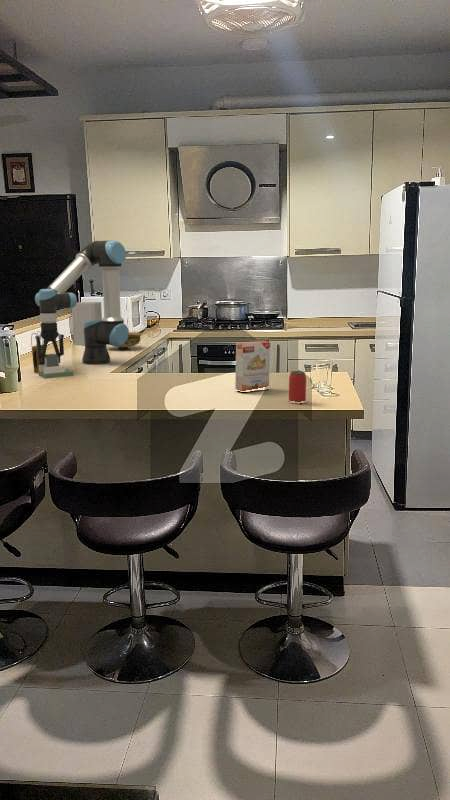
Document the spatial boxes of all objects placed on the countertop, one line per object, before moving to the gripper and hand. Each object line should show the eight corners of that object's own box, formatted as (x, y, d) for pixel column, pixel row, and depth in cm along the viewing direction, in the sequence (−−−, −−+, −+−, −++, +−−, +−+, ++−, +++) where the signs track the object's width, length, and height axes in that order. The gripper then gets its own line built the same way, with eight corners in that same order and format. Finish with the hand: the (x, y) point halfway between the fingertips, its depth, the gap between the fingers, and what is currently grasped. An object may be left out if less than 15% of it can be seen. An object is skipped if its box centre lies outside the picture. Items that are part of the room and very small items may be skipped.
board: (66, 372, 307) (66, 362, 306) (73, 375, 300) (72, 365, 298) (39, 375, 299) (38, 365, 298) (44, 378, 292) (44, 367, 291)
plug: (54, 369, 301) (54, 353, 299) (58, 371, 297) (57, 354, 295) (44, 370, 298) (43, 354, 297) (48, 372, 294) (47, 355, 293)
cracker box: (242, 393, 256) (242, 343, 252) (234, 391, 261) (235, 342, 257) (270, 390, 264) (270, 341, 259) (261, 388, 269) (262, 340, 264)
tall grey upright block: (80, 347, 401) (78, 303, 395) (73, 344, 414) (71, 302, 408) (108, 345, 411) (106, 302, 405) (100, 342, 423) (99, 301, 417)
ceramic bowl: (151, 350, 387) (151, 334, 384) (117, 353, 373) (116, 337, 370) (128, 345, 410) (128, 330, 408) (95, 348, 396) (95, 332, 394)
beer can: (287, 400, 243) (287, 370, 241) (303, 400, 244) (304, 370, 241) (290, 404, 237) (291, 373, 234) (307, 404, 237) (308, 373, 235)
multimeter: (48, 374, 303) (46, 333, 298) (30, 373, 305) (27, 333, 300) (62, 369, 317) (59, 330, 313) (44, 368, 319) (41, 330, 314)
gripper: (64, 320, 301) (66, 367, 306) (27, 322, 291) (30, 371, 296) (69, 321, 295) (72, 369, 299) (32, 323, 285) (35, 373, 290)
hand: (51, 370), depth 298 cm, fingers closed on plug, 5 cm apart
